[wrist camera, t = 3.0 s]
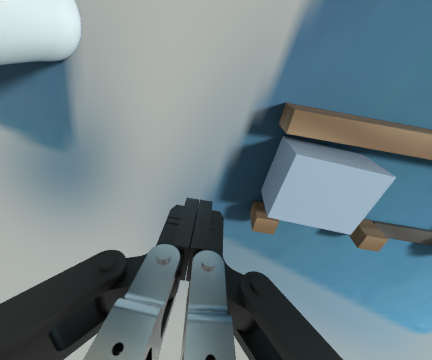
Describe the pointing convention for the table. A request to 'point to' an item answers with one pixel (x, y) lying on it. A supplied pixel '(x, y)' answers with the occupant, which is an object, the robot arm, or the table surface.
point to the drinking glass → (38, 30)
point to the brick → (322, 186)
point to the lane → (362, 137)
